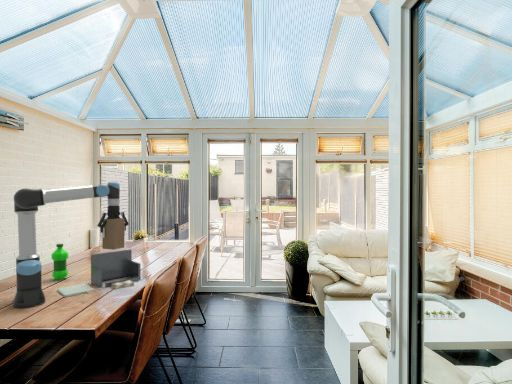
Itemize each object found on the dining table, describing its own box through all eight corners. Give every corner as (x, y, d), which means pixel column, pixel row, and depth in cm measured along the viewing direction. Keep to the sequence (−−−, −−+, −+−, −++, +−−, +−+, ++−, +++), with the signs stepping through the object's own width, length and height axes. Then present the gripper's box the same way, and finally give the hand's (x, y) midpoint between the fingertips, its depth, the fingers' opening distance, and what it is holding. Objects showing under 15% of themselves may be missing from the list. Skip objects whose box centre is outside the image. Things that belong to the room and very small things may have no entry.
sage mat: (65, 297, 199) (65, 295, 199) (56, 290, 212) (56, 289, 212) (95, 291, 211) (95, 289, 211) (85, 285, 224) (85, 283, 224)
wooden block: (124, 247, 230) (124, 218, 230) (114, 249, 221) (114, 219, 221) (112, 246, 233) (112, 217, 233) (102, 248, 224) (102, 218, 224)
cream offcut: (115, 288, 212) (115, 285, 212) (111, 286, 217) (111, 283, 217) (133, 285, 220) (133, 282, 220) (129, 282, 225) (129, 280, 225)
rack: (101, 289, 214) (101, 258, 214) (91, 284, 228) (90, 254, 227) (142, 281, 233) (142, 252, 233) (130, 276, 247) (130, 249, 247)
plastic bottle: (61, 281, 235) (60, 245, 235) (48, 280, 237) (47, 245, 237) (71, 277, 245) (71, 243, 245) (59, 276, 247) (58, 242, 247)
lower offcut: (115, 291, 212) (115, 288, 212) (111, 289, 217) (111, 286, 217) (133, 287, 220) (133, 285, 220) (129, 285, 226) (129, 282, 226)
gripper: (96, 205, 216) (96, 238, 216) (133, 204, 233) (133, 235, 233) (92, 205, 221) (92, 237, 221) (129, 204, 239) (129, 234, 239)
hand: (113, 236), depth 227 cm, fingers closed on wooden block, 13 cm apart
